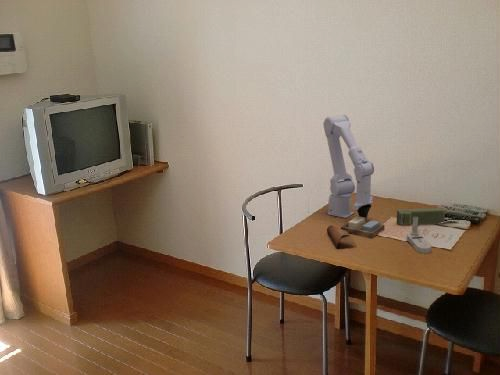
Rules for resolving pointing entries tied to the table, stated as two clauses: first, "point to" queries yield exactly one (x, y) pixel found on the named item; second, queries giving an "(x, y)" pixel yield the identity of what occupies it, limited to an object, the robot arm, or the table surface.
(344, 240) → the sunglasses case
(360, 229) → the rack
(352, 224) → the cream rectangular block
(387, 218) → the table surface
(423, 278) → the table surface
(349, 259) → the table surface
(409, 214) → the handheld radio
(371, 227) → the light blue block
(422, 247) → the electronic device
